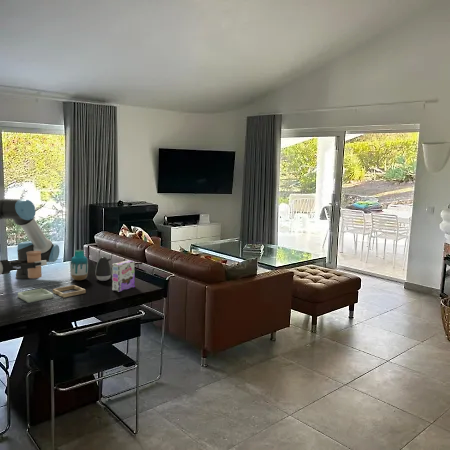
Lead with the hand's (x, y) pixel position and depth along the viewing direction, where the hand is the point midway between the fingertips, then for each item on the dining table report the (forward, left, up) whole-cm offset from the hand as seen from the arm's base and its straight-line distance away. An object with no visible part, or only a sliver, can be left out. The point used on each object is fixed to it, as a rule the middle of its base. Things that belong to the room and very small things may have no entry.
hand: (43, 261), depth 254 cm
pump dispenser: (-8, +43, -20) cm, 48 cm away
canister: (0, -5, -8) cm, 9 cm away
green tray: (0, -5, -20) cm, 21 cm away
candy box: (+18, +41, -20) cm, 49 cm away
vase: (-18, +31, -20) cm, 41 cm away
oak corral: (+4, +13, -20) cm, 24 cm away
